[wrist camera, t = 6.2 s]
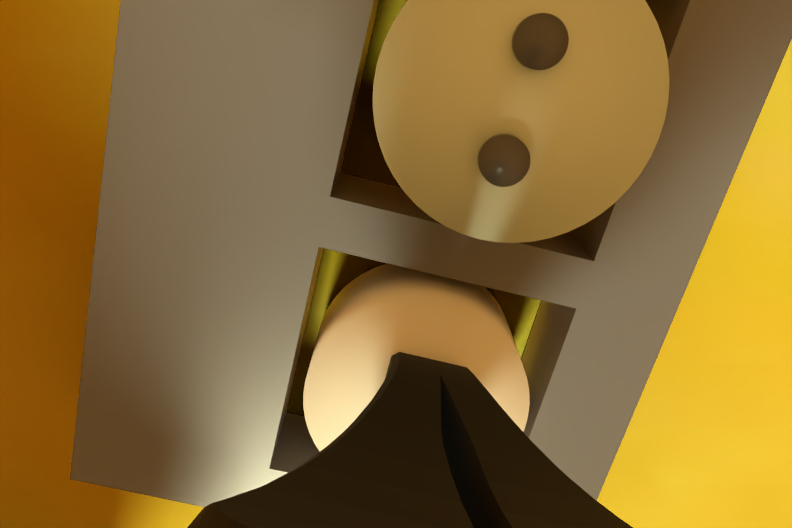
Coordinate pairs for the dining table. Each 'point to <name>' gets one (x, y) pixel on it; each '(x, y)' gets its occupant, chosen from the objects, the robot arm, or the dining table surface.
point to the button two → (519, 110)
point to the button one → (407, 344)
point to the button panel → (359, 238)
